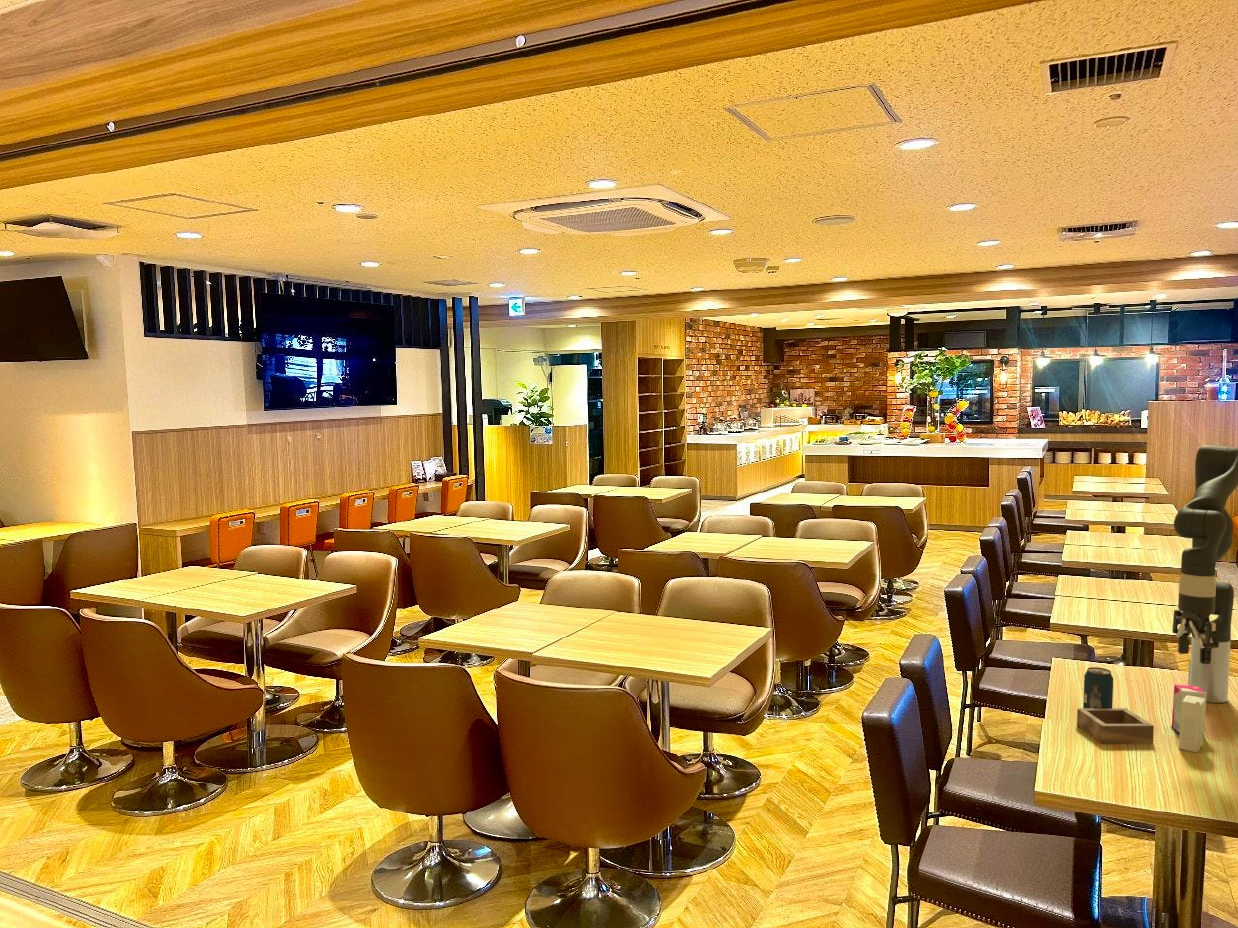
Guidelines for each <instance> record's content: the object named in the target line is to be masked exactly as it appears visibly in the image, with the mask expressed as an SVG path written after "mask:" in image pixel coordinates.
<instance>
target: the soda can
mask: <svg viewBox="0 0 1238 928" xmlns="http://www.w3.org/2000/svg"><path fill="white" fill-rule="evenodd" d="M1083 677H1084V678H1083V679H1084V680H1083V682H1084V683H1083V699H1082V700H1083V701H1082V702H1083V703H1082V704H1083V705H1082V708H1113V698H1114V697H1113V696H1114V695H1113V694H1114V677H1113V675H1112V671H1111V670H1109V669H1106V668H1104V667H1103V668H1102V667H1097V666H1096V667H1094V666H1093V667H1087V669H1086V672H1085V673H1084V676H1083Z"/></svg>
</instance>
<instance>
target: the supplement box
mask: <svg viewBox="0 0 1238 928" xmlns="http://www.w3.org/2000/svg"><path fill="white" fill-rule="evenodd" d="M1173 685H1174V686H1173V699H1172V700H1173V701H1172V716H1171V717H1172V718H1171V728H1172V730H1174V731H1175V732H1176V733H1177V734H1178V735H1180V722H1181V711H1182V701H1183V700H1184V698H1185V697H1186V695H1188V696H1195V697H1201V698H1205V699H1206V698H1207V693H1206V692H1205V691H1203V690H1202V689H1201V688H1199V687H1198V686H1188V685H1185V684H1183V685H1182V684H1173ZM1206 711H1207V702H1206V701H1205V714H1204V729H1203V738H1204V737H1205V728H1206V726H1205V725H1206Z"/></svg>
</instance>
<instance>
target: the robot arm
mask: <svg viewBox="0 0 1238 928" xmlns="http://www.w3.org/2000/svg"><path fill="white" fill-rule="evenodd" d="M1194 471H1195V472H1194V475H1195V476H1194V477H1195V479H1194V480H1195V481H1194V482H1195V484H1194V485H1195V492H1194V493H1193V497H1192V499H1191V500H1190V501H1189V502H1188V503H1187V504H1185V505H1184V506H1183V507H1181V509H1179V510H1178V512H1177V513H1176V515H1175V517H1174V521H1173V528H1174V531H1175V532H1176V534H1178V536H1179V537H1182V538H1185V539H1190V540H1191V539H1192V541H1191V543H1192V544H1191V546H1192V547H1190V548H1186V549H1184V550H1183V551H1182V553H1181V558H1180V560H1181V561H1180V562H1181V564H1180V565H1181V566H1180V576H1179V581H1178V600H1177V602H1178V605H1177V609H1174V610H1173V617H1172V618H1173V619H1172V633H1173V634H1176V637H1177V638H1178V640H1177V642H1178V643H1177V652H1178V653H1179V654H1181V655H1187V654H1190V660H1188V677H1187V686H1198V687H1199V688H1201V689H1202V690H1203V691H1205V692H1206V693H1207V698H1206V703H1215V704H1218V703H1219V704H1220V703H1221V704H1222V703H1227V702H1228V698H1229V697H1228V694H1229V680H1230V679H1229V678H1230V677H1229V675H1230V660H1231V659H1230V656H1231V641H1232V640H1231V639H1232V638H1231V637H1232V635H1231V634H1232V633H1231V631H1232V620H1233V619H1232V615H1233V610H1234V609H1233V608H1234V601H1235V600H1234V599H1235V598H1234V597H1235V593H1234V591H1235V590H1234V587H1233V585H1232V584H1231V583H1229V582H1225V581H1224V582H1223V581H1216V568H1217V567H1216V565H1217V562H1219V561H1220V560H1221V559H1222V558H1224V556H1225V555H1226V554H1227V553H1228V552H1229V550H1231V547H1232V544H1233V537H1234V535H1233V534H1234V521H1233V519H1232V517H1231V516H1230V514H1229V512H1228V511H1227V509H1226V504H1227V501H1228V499H1229V498H1230V496H1231V495H1232V493H1233V492H1234V491H1235V490H1236V488H1237V487H1238V447H1233V446H1223V445H1211V444H1210V445H1209V444H1208V445H1207V444H1205V445H1201V446H1200V447H1199V448H1198V449H1197V452H1196V456H1195V466H1194ZM1211 615H1212V616H1213V615H1214V616H1215V615H1216V616H1217V617H1216V618H1214V619H1213V620H1210V616H1211ZM1190 636H1191V640H1190V638H1189V637H1190ZM1190 641H1191V645H1190ZM1190 646H1191V647H1190ZM1190 648H1191V649H1190Z"/></svg>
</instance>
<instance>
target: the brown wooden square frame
mask: <svg viewBox="0 0 1238 928" xmlns="http://www.w3.org/2000/svg"><path fill="white" fill-rule="evenodd" d="M1076 711H1077V713H1076V726H1077V727H1078V728H1080V730H1083V731H1084V732H1085V733H1086V734H1088V735H1089V736H1090V737H1092V738H1093V737H1094V739H1095V740H1096V741H1097V742H1098V743H1100V744H1102V745H1115V744H1116V745H1119V744H1120V745H1127V744H1128V745H1129V744H1131V745H1132V744H1133V745H1134V744H1136V745H1137V744H1138V745H1139V744H1140V745H1141V744H1143V745H1144V744H1146V745H1147V744H1154V733H1155V732H1154V731H1155V730H1154V728H1155V725H1153V724H1152V723H1151V722H1149V721H1147V720H1145V719H1144V718H1142V717H1141V716H1139V715H1138V714H1136V713H1134V712H1132V711H1131V710H1130V709H1128V708H1127V707H1125V708H1124V707H1123V708H1122V707H1121V708H1119V707H1118V708H1117V707H1116V708H1115V707H1112V708H1083V707H1081V708H1077V710H1076Z"/></svg>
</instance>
